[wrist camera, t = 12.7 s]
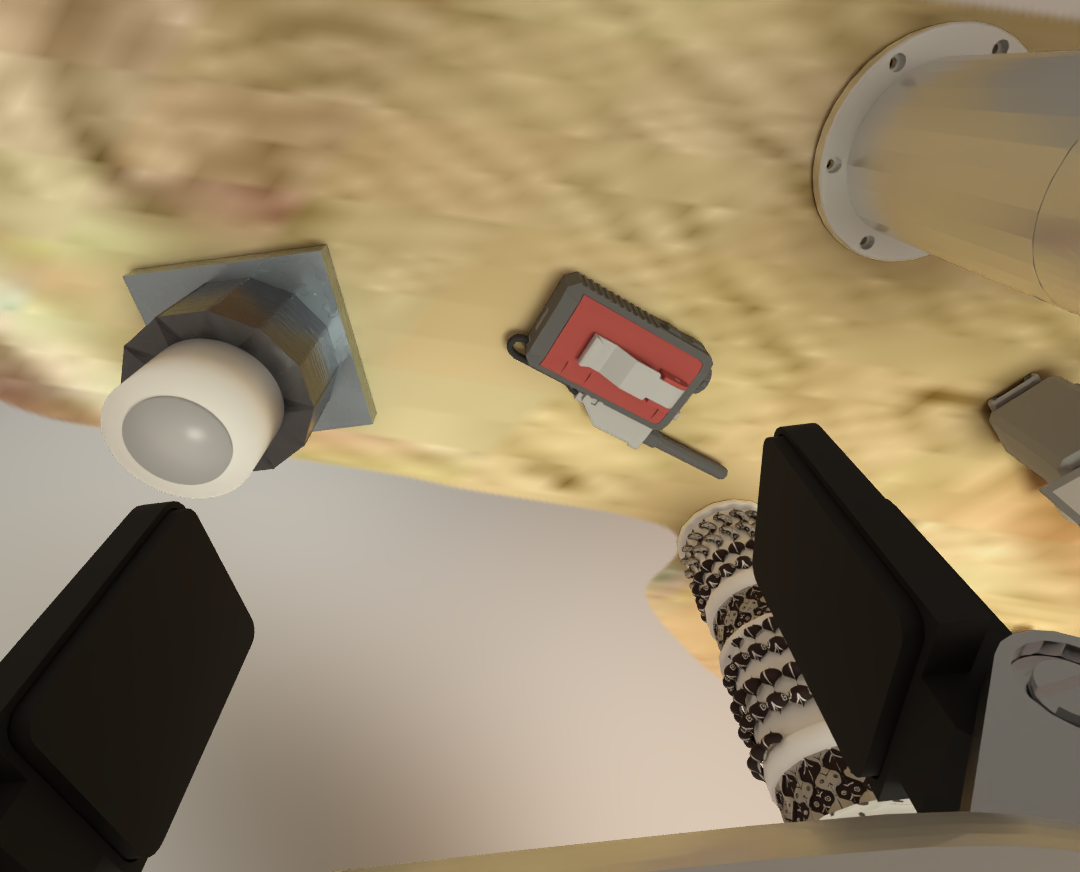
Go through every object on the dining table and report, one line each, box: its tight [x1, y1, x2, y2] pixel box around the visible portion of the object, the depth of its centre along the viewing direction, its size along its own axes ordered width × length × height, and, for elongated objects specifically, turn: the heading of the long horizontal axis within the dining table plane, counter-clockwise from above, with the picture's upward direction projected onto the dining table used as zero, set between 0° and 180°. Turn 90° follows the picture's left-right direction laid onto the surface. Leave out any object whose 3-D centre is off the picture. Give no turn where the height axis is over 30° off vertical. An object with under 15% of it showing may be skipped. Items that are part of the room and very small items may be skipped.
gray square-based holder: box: [121, 245, 377, 471], centre depth 37 cm, size 12×12×8 cm
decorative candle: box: [677, 499, 917, 823], centre depth 40 cm, size 9×9×25 cm
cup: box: [101, 338, 284, 499], centre depth 33 cm, size 7×7×8 cm
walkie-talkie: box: [507, 272, 727, 479], centre depth 41 cm, size 9×4×20 cm
